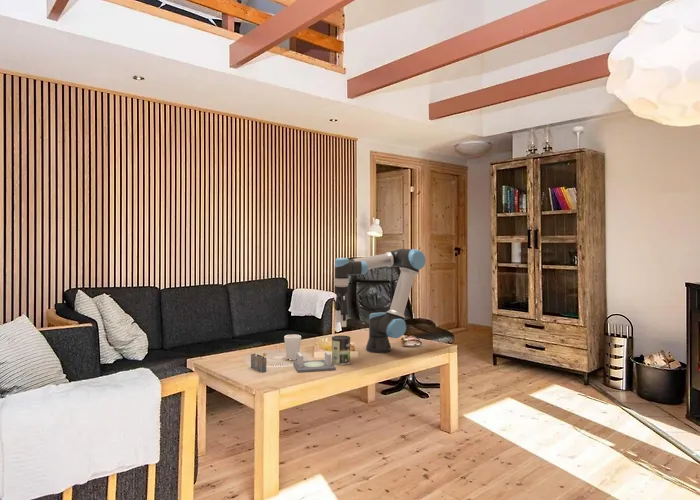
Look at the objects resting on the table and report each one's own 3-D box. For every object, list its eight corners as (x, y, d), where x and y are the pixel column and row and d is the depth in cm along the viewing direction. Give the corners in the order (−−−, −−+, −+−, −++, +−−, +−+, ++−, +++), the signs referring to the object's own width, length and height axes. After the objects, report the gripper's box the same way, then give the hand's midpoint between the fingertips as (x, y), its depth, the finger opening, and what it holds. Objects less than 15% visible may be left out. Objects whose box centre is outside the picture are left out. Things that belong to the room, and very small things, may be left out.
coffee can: (351, 360, 269) (352, 335, 269) (348, 365, 259) (348, 339, 258) (334, 359, 271) (334, 334, 271) (329, 364, 261) (329, 338, 261)
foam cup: (286, 356, 277) (286, 334, 276) (302, 357, 276) (302, 334, 275) (282, 361, 267) (282, 337, 267) (298, 361, 266) (299, 338, 266)
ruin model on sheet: (267, 372, 247) (267, 353, 247) (261, 373, 245) (262, 354, 245) (256, 367, 255) (256, 349, 255) (250, 368, 254) (250, 350, 253)
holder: (329, 361, 266) (329, 348, 266) (335, 370, 250) (335, 356, 250) (293, 363, 262) (293, 350, 261) (297, 372, 245) (297, 358, 245)
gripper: (330, 283, 275) (329, 320, 275) (339, 288, 251) (339, 328, 251) (342, 283, 277) (342, 320, 277) (353, 288, 252) (353, 328, 253)
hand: (340, 324), depth 264 cm, fingers open, 13 cm apart
